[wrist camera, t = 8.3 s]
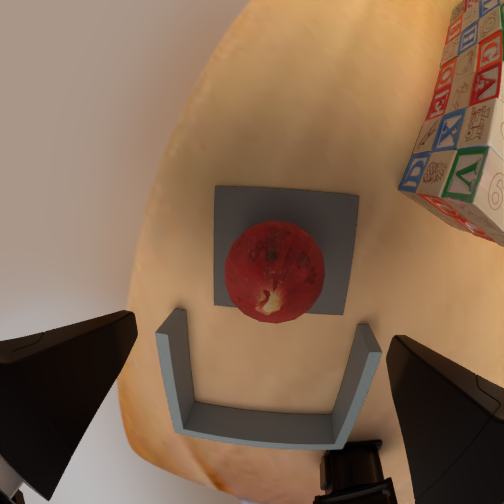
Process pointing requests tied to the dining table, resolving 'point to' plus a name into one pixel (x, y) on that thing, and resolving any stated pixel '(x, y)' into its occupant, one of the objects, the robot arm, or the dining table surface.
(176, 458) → the dining table surface
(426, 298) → the dining table surface
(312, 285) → the onion
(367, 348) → the u-shaped frame
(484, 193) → the stack of blocks
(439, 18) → the dining table surface
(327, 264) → the mat
